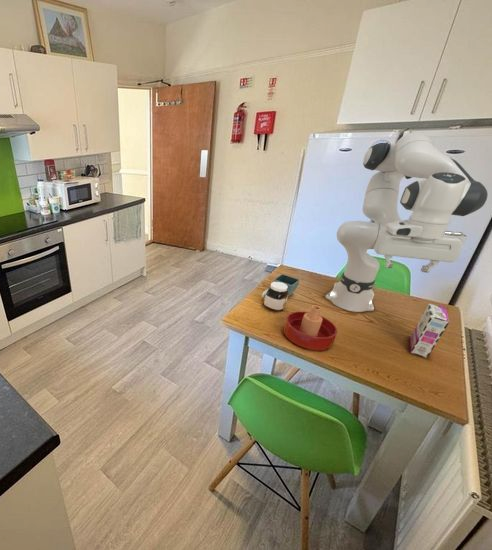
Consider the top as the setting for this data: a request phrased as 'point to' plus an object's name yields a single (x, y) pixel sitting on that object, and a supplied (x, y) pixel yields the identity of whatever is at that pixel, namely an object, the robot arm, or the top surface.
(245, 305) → the top surface
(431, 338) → the candy bar box
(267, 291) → the spread jar
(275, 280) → the flower pot
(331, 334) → the bowl
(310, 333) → the bottle
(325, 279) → the top surface
